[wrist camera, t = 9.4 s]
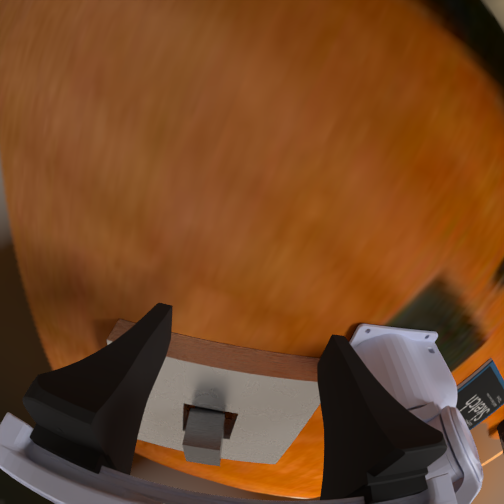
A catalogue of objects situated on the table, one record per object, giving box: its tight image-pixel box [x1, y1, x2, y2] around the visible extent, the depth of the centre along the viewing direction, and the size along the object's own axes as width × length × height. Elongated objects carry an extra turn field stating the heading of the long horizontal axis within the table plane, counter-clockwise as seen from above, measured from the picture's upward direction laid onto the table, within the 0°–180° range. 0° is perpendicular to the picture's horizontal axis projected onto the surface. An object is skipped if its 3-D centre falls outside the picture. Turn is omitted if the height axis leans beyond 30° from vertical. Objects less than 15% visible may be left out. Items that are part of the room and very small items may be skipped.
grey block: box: [182, 406, 225, 466], centre depth 26 cm, size 4×4×8 cm
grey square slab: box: [107, 319, 320, 464], centre depth 28 cm, size 20×20×3 cm
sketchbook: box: [456, 358, 504, 430], centre depth 34 cm, size 22×30×2 cm
